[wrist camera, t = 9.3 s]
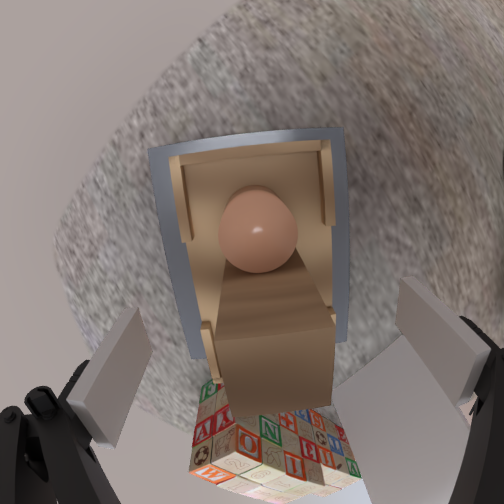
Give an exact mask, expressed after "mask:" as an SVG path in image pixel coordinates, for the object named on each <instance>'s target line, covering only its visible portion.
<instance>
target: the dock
mask: <svg viewBox="0 0 504 504" xmlns="http://www.w3.org/2000/svg"><path fill="white" fill-rule="evenodd" d="M329 139H330V143H331V154H332V167H333V181H334V197H335V219H336V226H331V233H332V307H333V309H334V311H335V313H336V335H335V343H340V342H345V341H347V328H348V308H349V276H350V231H349V198H348V179H347V164H346V151H345V139H344V129H343V127H327V128H304V129H288V130H275V131H263V132H253V133H244V134H235V135H227V136H220V137H213V138H206V139H199V140H193V141H187V142H181V143H176V144H170V145H165V146H160V147H155V148H150V149H148V156H149V163H150V170H151V177H152V183H153V189H154V196H155V202H156V207H157V213H158V219H159V224H160V229H161V235H162V240H163V245H164V250H165V254H166V259H167V264H168V268H169V273H170V277H171V282H172V286H173V290H174V295H175V299H176V303H177V307H178V311H179V315H180V319H181V323H182V327H183V330H184V334H185V338H186V341H187V345H188V349H189V352H190V356H191V359H204V358H207V356H206V352H205V348H204V344H203V340H202V336H201V331H200V328H201V324H202V320H201V316H200V311H199V306H198V302H197V297H196V292H195V287H194V283H193V278H192V272H191V267H190V262H189V257H188V252H187V246H186V242H185V243H182V241H181V235H180V229H179V224H178V218H177V212H176V206H175V200H174V193H173V187H172V180H171V173H170V166H169V159H168V157H171V156H177V155H183V154H189V153H195V152H202V151H209V150H216V149H223V148H231V147H239V146H248V145H258V144H268V143H279V142H292V141H308V140H329Z"/></svg>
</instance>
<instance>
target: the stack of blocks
mask: <svg viewBox="0 0 504 504" xmlns="http://www.w3.org/2000/svg"><path fill="white" fill-rule="evenodd" d="M189 473H190V474H192V475H195V476H197V477H199V478H202V479H204V480H206V481H209V482H211V483H214V484H216V486H218V487H220V488H223V489H226V490H229V491H232V492H235V493H238V494H242V495H245V496H249V497H252V498H256V499H259V500H263V501H267V502H271V503H275V504H286V503H289V502H291V501H294V500H296V499H298V498H301V497H303V496H305V495H307V494H314V495H317V496H321V497H326V496H328V495H330V494H332V493H335V492H337V491H339V490H341V489H342V488H345V487H347V486H349V485H351V484H352V483H355V482H357V481H358V480H360V479H362V477H361V474H360V471H359V468H358V465H357V462H356V461H355V458H354V455H353V452H352V450H351V447H350V444H349V442H348V439H347V437H346V434H345V432H344V429H342V428H340V427H338V426H337V425H335V424H334V423H333V422H331V421H329V420H328V419H326V418H324V417H322V416H321V415H319V414H318V413H316V412H315V411H313V410H311V409H306V410H299V411H292V412H285V413H276V414H267V415H257V416H245V417H232V415H231V411H230V407H229V403H228V399H227V395H226V391H225V387H224V383H217V384H214V383H213V379H212V380H211V381H209V382H208V383H206V384H205V385H204V386H202V389H201V394H200V400H199V409H198V414H197V420H196V426H195V430H194V437H193V443H192V454H191V460H190V466H189Z"/></svg>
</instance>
